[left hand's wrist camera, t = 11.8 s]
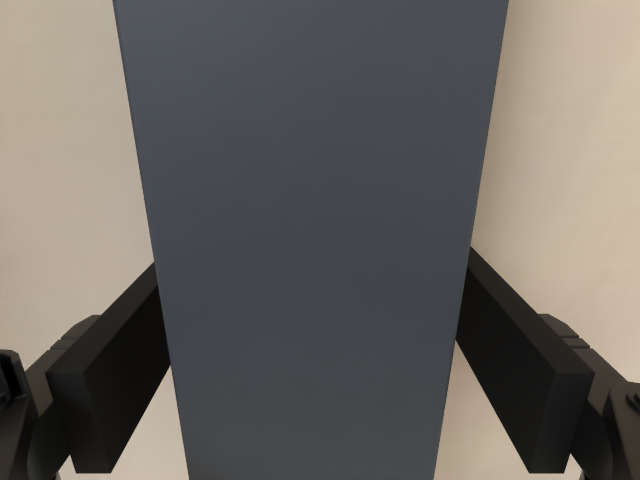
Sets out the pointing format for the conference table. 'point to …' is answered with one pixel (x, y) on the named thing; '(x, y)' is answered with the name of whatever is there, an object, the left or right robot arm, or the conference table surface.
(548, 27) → the conference table surface
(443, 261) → the post
